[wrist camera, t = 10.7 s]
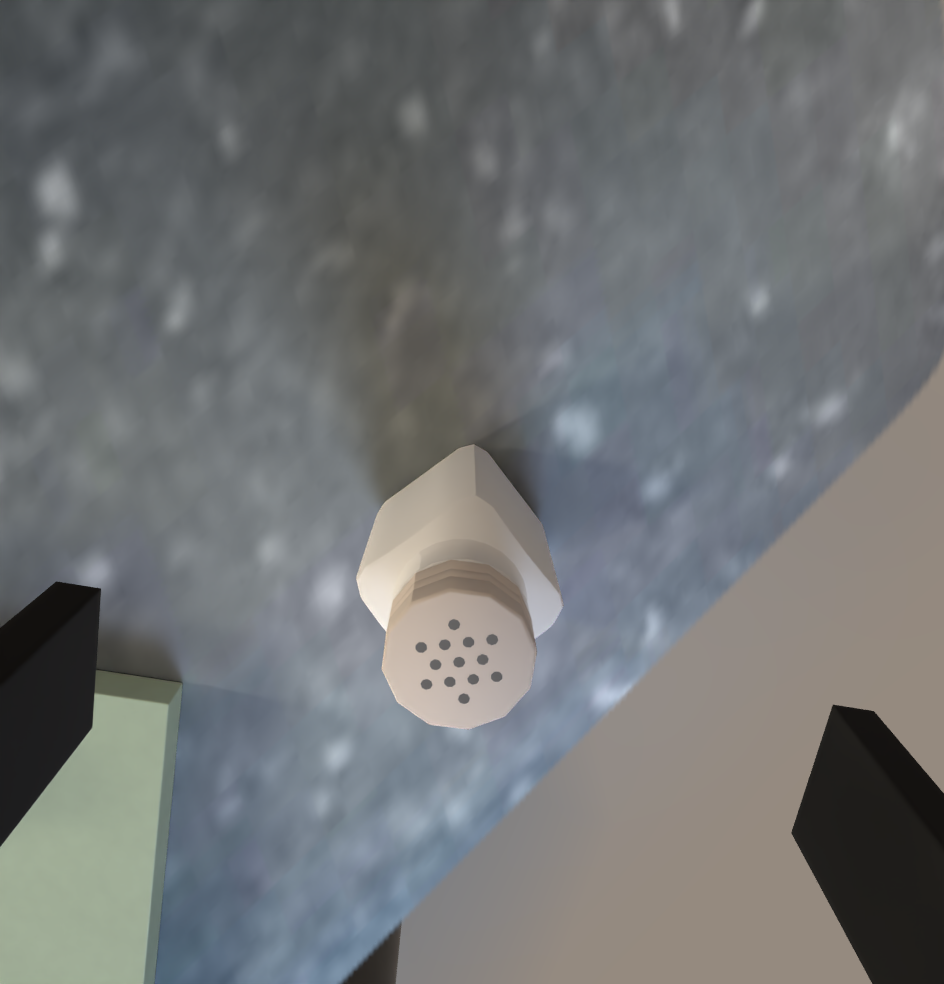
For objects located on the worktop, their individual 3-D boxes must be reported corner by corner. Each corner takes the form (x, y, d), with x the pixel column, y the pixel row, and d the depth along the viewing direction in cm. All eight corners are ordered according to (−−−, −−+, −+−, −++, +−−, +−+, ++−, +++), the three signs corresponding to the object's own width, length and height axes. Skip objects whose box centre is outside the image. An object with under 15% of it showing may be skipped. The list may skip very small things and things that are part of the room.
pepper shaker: (449, 604, 28) (440, 781, 19) (370, 508, 27) (321, 644, 18) (551, 532, 27) (594, 679, 18) (474, 431, 26) (479, 532, 17)
